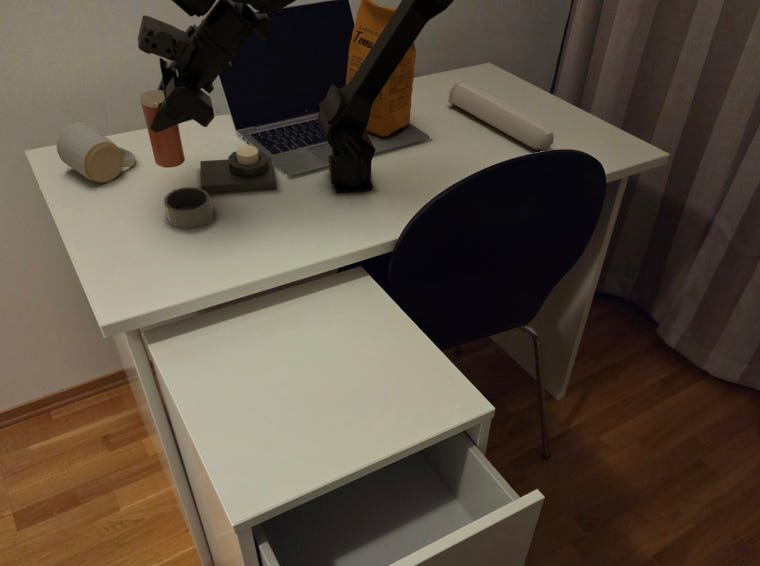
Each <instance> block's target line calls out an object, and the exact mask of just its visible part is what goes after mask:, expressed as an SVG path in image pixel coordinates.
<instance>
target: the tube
mask: <svg viewBox="0 0 760 566" xmlns="http://www.w3.org/2000/svg"><path fill="white" fill-rule="evenodd" d="M447 101H448V103H449V104H451V105H452V106H453V107H458V108H459V109H461V110H463V111H464V112H466V113H468V114H470V115H472V116H473V117H475V118H477V119H479V120H481V121H483V122H484V123H486V124H488V125H490V126H491V127H493V128H495V129H496V130H498V131H500V132H502V133H504V134H505V135H507V136H509V137H510V138H513V139H514V140H516V141H518V142H520V143H522V144H523V145H524V146H526V147H528V148H530V149H532V150H534V151H536V152H537V153H539V152H538V151H544V150H545V151H546V150H548V149H549V148H550V147H551V146H552V145H553V144H554V139H555V137H554V136H555V134H554V131H553V129H552V128H550V126H548V125H546V124H544V123H542V122H540V121H539V120H537V119H535V118H533V117H531V116H529V115H527V114H526V113H523V112H522V111H520V110H519V109H516V108H514V107H513V106H510V105H509V104H508V103H505V102H504V101H502V100H499V99H498V98H496V97H493V96H492V95H489V94H488V93H486V92H484V91H483V90H480V89H479V88H476V87H475V86H473V85H471V84H469V83H468V82H467V81H466V80H464V79H459V80H456V81H454V83H453V84H452V86H451V88H450V89H449V93H448V100H447ZM545 151H544V152H545Z"/></svg>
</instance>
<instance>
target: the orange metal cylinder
mask: <svg viewBox="0 0 760 566" xmlns="http://www.w3.org/2000/svg"><path fill="white" fill-rule="evenodd" d="M139 99H140V104H141V108H142V112H143V117H144V120H145V124H146V129H147V133H148V137H149V141H150V144H151V150H152V153H153V154H152V155H153V158H154V162H155V164H156V165H157V166H159V167H161V168H166V169H167V168H168V169H169V168H176V167H179V166H181V165H183V163H185V161H186V157H185V151H184V147H183V142H182V137H181V132H180V127H179V124H177V125H175V126H172V127H170V128H167V129H165V130H162V131H159V132H157V133H156V132H154V131H152V130H151V129H150V125H151V123H152V121H153V119H154V117H155V115H156V113H157V112H158V110H159V108H160V106H161V104H162V102H163V101H164V99H165V96H164V92H163V90H157V89H152V90H147V91H145V92H143V93H141V94H140V97H139Z"/></svg>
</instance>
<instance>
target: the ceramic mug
mask: <svg viewBox="0 0 760 566" xmlns="http://www.w3.org/2000/svg"><path fill="white" fill-rule="evenodd" d="M56 153H57V155H58V157H59V159H60V160H61V161H62V162H63V163H64V164H65V165H66V166H68V167H70V168H71V169H73V170H74V171H75V172H77V173H79V174H81V175H82V176H84V177H85V178H86V179H87V180H90V181H92V182H95V183H100V184H101V183H102V184H104V183H109V182H111V181H113V180H114V179H116V178H117V177H118V176H119V175H120V173H121V172H122V170H123V168H131V167H134V166H135V164H136V155H135V154H134V153H133V152H131V151H130V150H128V149H126V148H123V147H120V146H118V145H117V144H116V143H114V141H112V140H111V139H110V138H108V137H107V136H105V135H104V134H103V133H102V132H100V130H97V129H96V128H95V127H94V126H92V125H90V124H88V123H84V122H74V123H70V124H68V125H67V126H66V127H64V128H63V129H62V130H61V131H60V133H59V134H58V137H57V141H56Z"/></svg>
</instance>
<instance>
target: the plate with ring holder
mask: <svg viewBox="0 0 760 566" xmlns="http://www.w3.org/2000/svg"><path fill="white" fill-rule="evenodd" d="M258 155H259V162H258V163H256V164H253V165H242V164H239V163H238V161H237V155H236V150H235V151H232V152H231V154H230V155H228V157H227V159H211V160H200V161H199V166H200V187H201V189H202V190H205V191H206V192H207V193H208V194H209V195H216V194H217V195H218V194H229V193H230V194H231V193H244V192H255V191H256V192H258V191H272V190H277V181H276V176H275V170H274V164H273V160H272V159H273V158H272V156H268V154H266V153H265V152H264V151H263V150H259V149H258Z"/></svg>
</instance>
